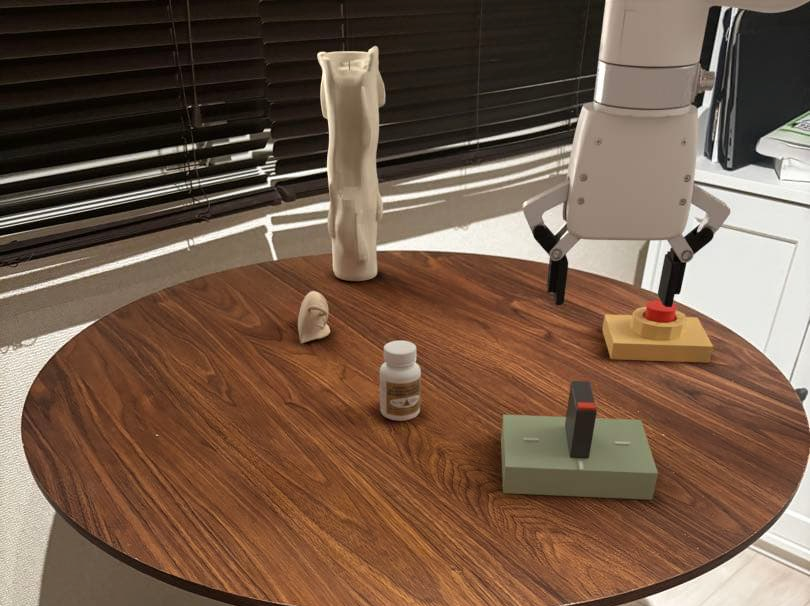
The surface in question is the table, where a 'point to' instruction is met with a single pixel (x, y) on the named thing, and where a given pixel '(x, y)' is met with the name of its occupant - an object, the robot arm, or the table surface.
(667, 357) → the button block
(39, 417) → the table surface
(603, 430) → the block
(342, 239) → the vase
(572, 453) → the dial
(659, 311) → the button
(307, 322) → the decorative ornament
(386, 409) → the pill bottle
